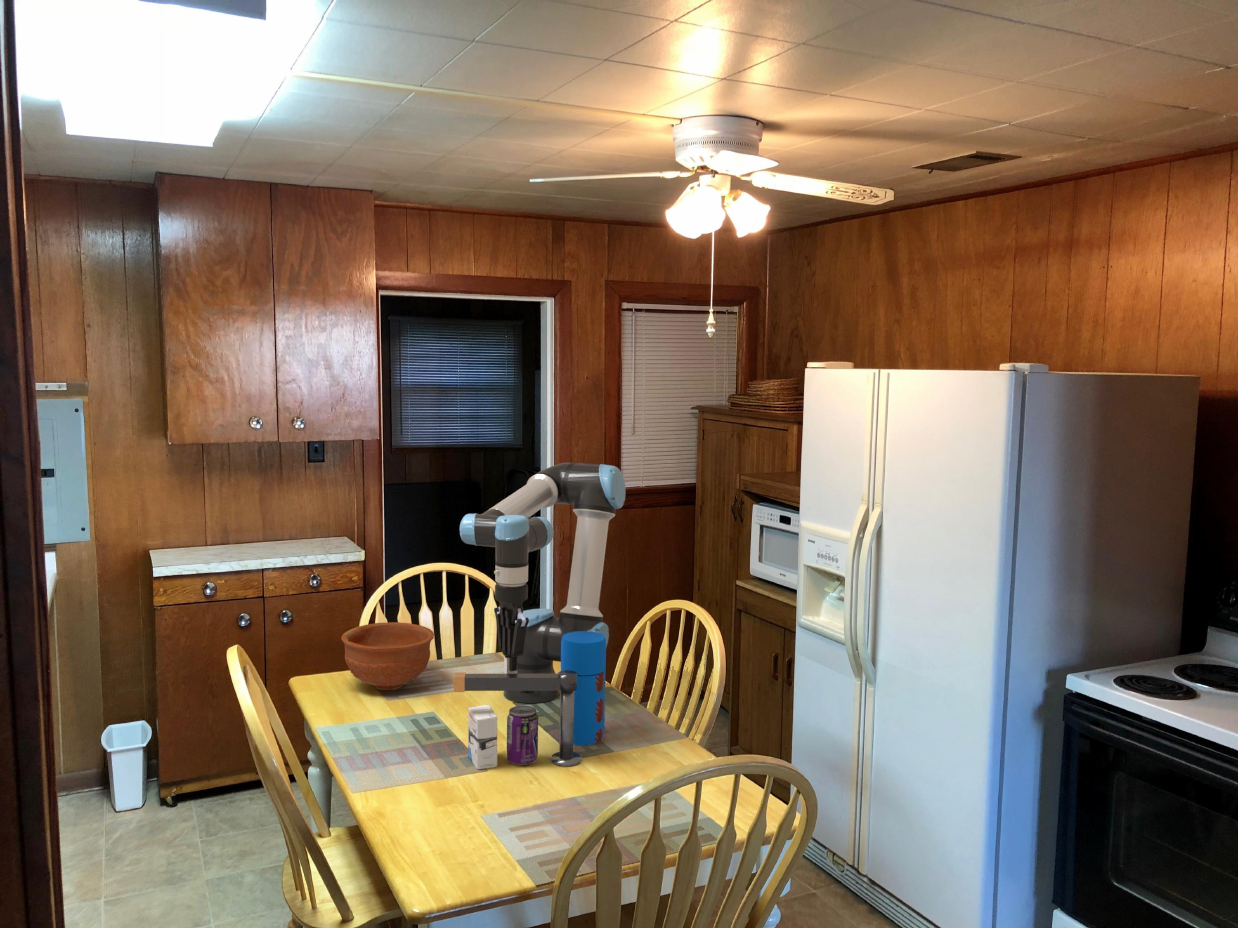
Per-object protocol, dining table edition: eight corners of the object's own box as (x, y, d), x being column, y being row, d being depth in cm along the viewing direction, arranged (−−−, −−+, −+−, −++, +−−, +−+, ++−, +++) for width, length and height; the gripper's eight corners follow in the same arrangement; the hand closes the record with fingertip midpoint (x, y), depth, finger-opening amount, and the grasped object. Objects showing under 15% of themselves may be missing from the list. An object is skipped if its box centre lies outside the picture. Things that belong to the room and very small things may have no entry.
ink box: (467, 755, 221) (467, 706, 220) (488, 752, 223) (488, 703, 222) (476, 770, 214) (476, 718, 212) (498, 767, 216) (498, 716, 214)
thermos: (550, 736, 234) (552, 636, 231) (581, 725, 242) (583, 628, 239) (582, 749, 226) (583, 646, 224) (613, 737, 234) (615, 637, 232)
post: (567, 751, 225) (568, 683, 223) (587, 760, 220) (589, 690, 218) (544, 759, 220) (545, 689, 218) (564, 769, 215) (565, 697, 213)
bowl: (363, 669, 282) (363, 619, 280) (445, 674, 278) (446, 624, 277) (326, 697, 257) (326, 643, 256) (416, 704, 254) (416, 649, 252)
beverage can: (532, 768, 215) (533, 716, 214) (502, 765, 216) (502, 713, 215) (541, 756, 222) (542, 706, 221) (512, 753, 223) (512, 703, 222)
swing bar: (576, 685, 221) (577, 670, 220) (577, 692, 216) (577, 676, 216) (455, 686, 219) (455, 670, 218) (453, 692, 214) (453, 676, 214)
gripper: (484, 579, 224) (483, 677, 226) (509, 590, 213) (508, 693, 215) (512, 575, 228) (511, 672, 230) (539, 586, 217) (538, 688, 219)
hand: (510, 682), depth 223 cm, fingers closed
